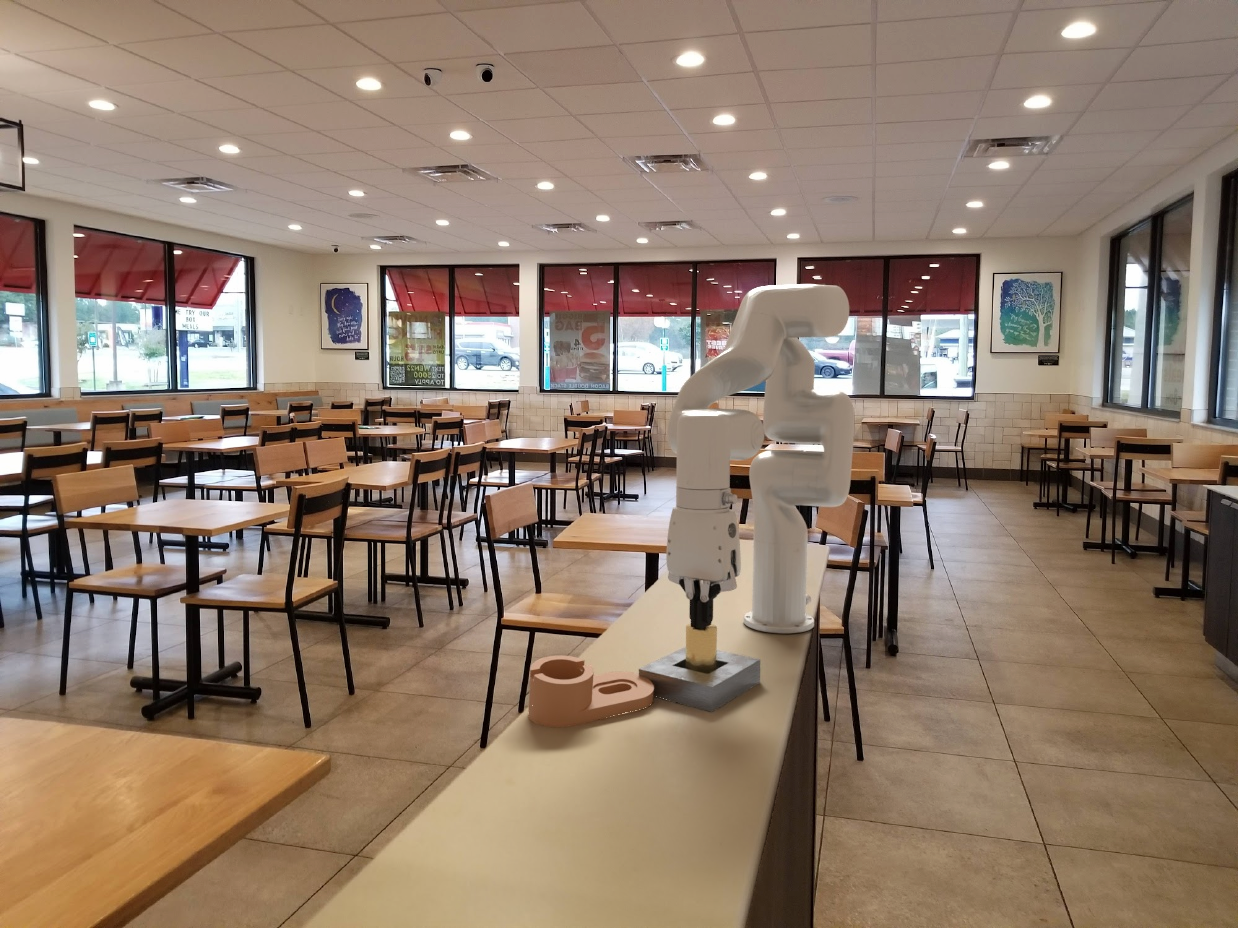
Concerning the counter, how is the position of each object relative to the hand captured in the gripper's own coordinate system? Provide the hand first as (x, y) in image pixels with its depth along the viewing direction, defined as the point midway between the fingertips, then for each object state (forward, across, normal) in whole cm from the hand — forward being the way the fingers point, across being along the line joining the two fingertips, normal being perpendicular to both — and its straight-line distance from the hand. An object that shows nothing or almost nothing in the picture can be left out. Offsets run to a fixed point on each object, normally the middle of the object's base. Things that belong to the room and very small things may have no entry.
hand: (701, 625), depth 125 cm
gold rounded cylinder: (+9, 0, 0) cm, 9 cm away
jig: (+9, 0, 0) cm, 9 cm away
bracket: (+10, +8, +15) cm, 20 cm away
